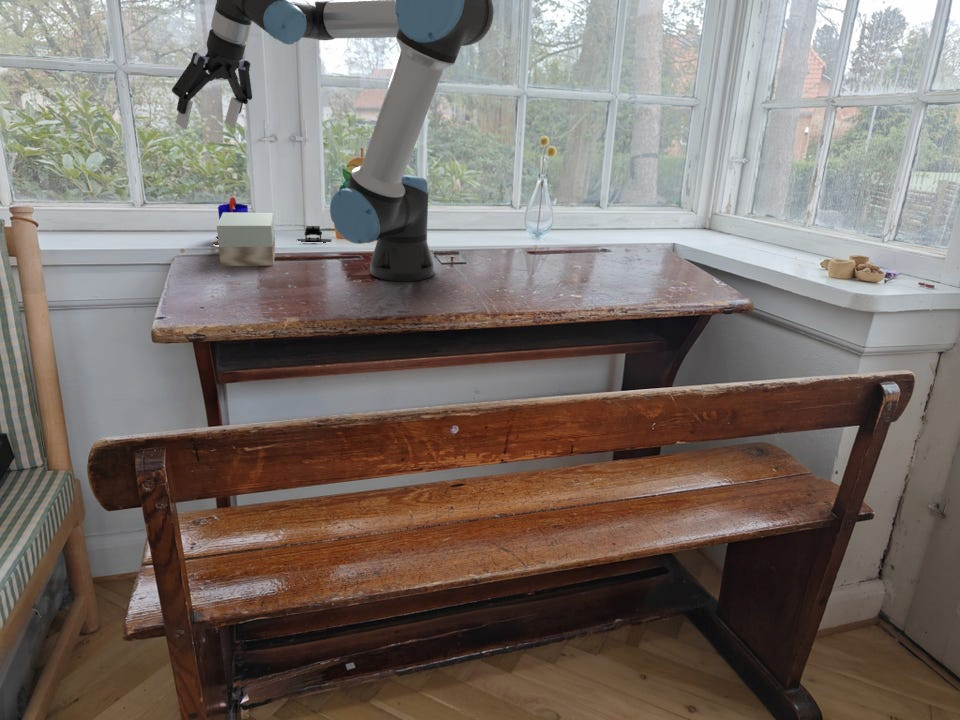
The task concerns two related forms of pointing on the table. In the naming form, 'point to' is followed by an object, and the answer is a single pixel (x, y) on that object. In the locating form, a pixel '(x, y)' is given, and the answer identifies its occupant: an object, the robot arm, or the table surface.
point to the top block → (245, 229)
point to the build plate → (313, 231)
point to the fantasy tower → (231, 209)
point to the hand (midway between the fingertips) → (206, 125)
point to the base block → (247, 256)
